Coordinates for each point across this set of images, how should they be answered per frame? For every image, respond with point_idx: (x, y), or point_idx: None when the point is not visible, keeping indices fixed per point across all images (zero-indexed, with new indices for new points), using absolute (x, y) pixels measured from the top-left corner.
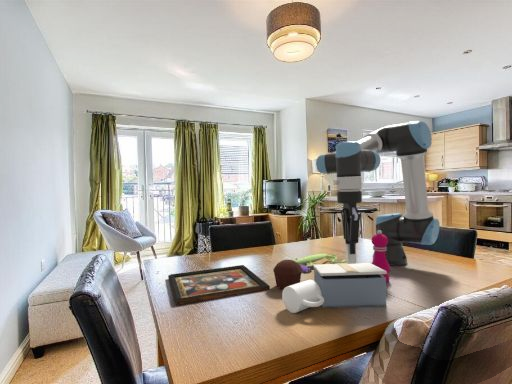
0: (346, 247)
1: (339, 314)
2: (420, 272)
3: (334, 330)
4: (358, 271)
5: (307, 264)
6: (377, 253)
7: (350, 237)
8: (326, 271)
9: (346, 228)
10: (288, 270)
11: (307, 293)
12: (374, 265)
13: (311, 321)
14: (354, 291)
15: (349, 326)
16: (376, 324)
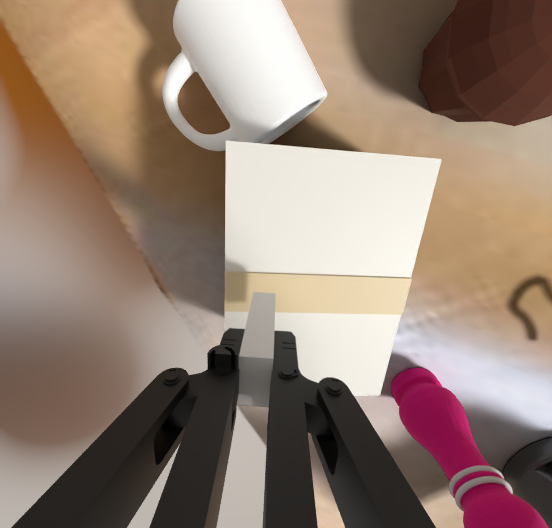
0: (265, 338)
1: (203, 193)
2: (431, 483)
3: (111, 147)
4: (228, 310)
5: None
6: (458, 459)
7: (137, 407)
8: (261, 181)
9: (266, 488)
10: (474, 13)
11: (206, 75)
12: None
13: (160, 92)
14: None
15: (135, 195)
16: (148, 262)
